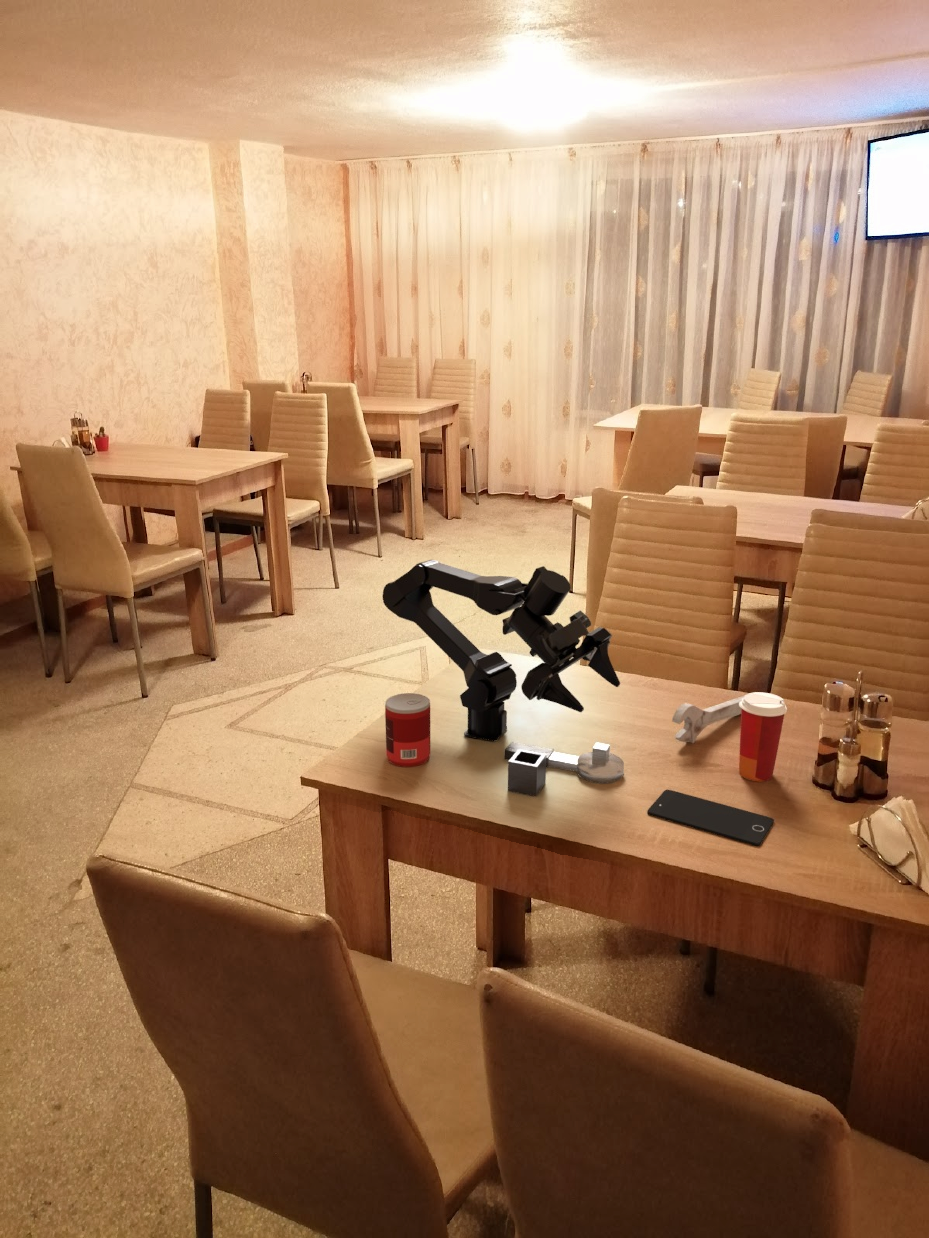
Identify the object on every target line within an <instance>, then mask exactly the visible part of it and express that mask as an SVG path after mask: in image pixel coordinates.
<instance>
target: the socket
mask: <svg viewBox="0 0 929 1238" xmlns="http://www.w3.org/2000/svg"><path fill="white" fill-rule="evenodd" d="M546 755H547V754H543V753H538V752H532V751H527V750H522V749H518V750H517V751H516V753H515V754H514V755H513V756H512V757H511V759H510V760H507V761H508V766H507V767H508V769H507V792H511V793H516V794H520V795H526V796H529V797H530V796H531V797H534V798H535V797H538V795H539V794H540V792H541V791H542V789H543V787H544V786H545V785H546V782H547V780H546V779H547V777H546V775H547V767H546Z"/></svg>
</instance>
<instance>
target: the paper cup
mask: <svg viewBox="0 0 929 1238" xmlns="http://www.w3.org/2000/svg"><path fill="white" fill-rule="evenodd" d="M743 696H744V697H743V698H742V700H741V702H739V706H740V707H741V708H742V709H741V714H740V730H739V731H740V733H739V734H740V735H739V736H740V737H739V756H738V757H739V758H738V760H739V761H738V762H739V763H738V773H739V775H740V777H742V778H744V779H746V780H749V781H752V782H767V781H770V780H772V778H773V775H774V770H775V766H776V765H775V764H776V760H777V755H778V750H779V745H780V739H781V733H782V729H783V723H784V719H785V714H787V711H788V708H787V706H786V703H785V700H784V699H783V698H782V697H781V696H779V695H776V694H774V693H770V692H769V693H768V692H762V691H761V692H760V691H759V692H758V691H757V692H756V691H754V692H749V693H746V694H745V695H743Z"/></svg>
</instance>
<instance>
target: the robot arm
mask: <svg viewBox="0 0 929 1238" xmlns="http://www.w3.org/2000/svg"><path fill="white" fill-rule="evenodd" d="M433 588H436V589H440V590H441V591H442V590H443V591H446V592H449V593H452V594H454V595H458V596H461V597H464V598H466V599H469V600H471V601H473V602H474V604H475V605H476V606H477V607H478V609H481V610H483V611H484V612H486V613H488V614H490V615H492V616H499V615H501V614H505V613H507V612H510V611H512V613H511V614H510V615H509V616H508V617H506V618H503V619H502V634H503V635H504V636H505V635H509V634H511V633H513V632H515V633H516V634H517V635H518V636H519V637H520V639H521V640H522V641H524V643H525V644H527V646H528V647H529V648H530V649H529V650H530V651H529V652H528V653H529V655H531V657H536V656H538V658H539V659H540V660H541V661H542V662H541V663H540V664H538V665H537V666H535V667H533V668H532V669H530V670H528V672H527V674H526V676H525V677H524V680H523V682H522V683H521V686H520V688H521V692H522V694H523V695H524V696H525V697H526V698H527V699H528V700H529V701H532V700H533V699H535V698H536V700H538V701H540V700H546V701H547V702H552V703H554V704H555V703H556V704H559V705H560V706H563V707H566V708H568V709H571V710H573V711H576V712H578V713H582V712H584V708H585V707H584V706H583V705H582V703H581V702H580V701H579V700H578V699H577V698H576V697H575V696H574V694H573V693H572V692H571V691H570V690H569V689H568V688H567V687H566V686H565V685H564V683H563V681H562V680H561V676H560V675H559V673H561V672H563V671H565V670H566V669H568V668H569V667H571V666H572V665H574V664H576V663H577V662H579V661H580V660H584V661H585V662H586V661H587V662H588V664H587V666H588V667H589V668H590V669H592V670H593V672H596V674H598V675H599V676H600V677H601V678H603V679H604V680H605V681H607V682H608V683H609V684H611V685H613V686H614V687H616V688H618V687H620V685H621V682H620V679H619V677H618V675H617V673H616V671H615V668H614V666H613V663H612V662H611V659H610V656H609V651H608V650H609V649H608V648H609V646H610V645H611V641H610V640H611V639H612V637H613V634H612V633H610V631H608V629H606V628H605V627H599V626H598V627H597V628H595V629H593V630H592V631H591V632H589V629H588V628H589V627H591V626H592V621H590V619H589V617H588V616H587V615H586V614H585V613H584V612H583V611H582V610H578V611H577V612H575V613H573V614H572V615H570V616H569V621H570V622H569V623H567V624H565V626H564V625H562V623H561V622H560V623H559V622H558V621H557V622H556V623H552V621H551V620H550V619H549V618H548V617H550V616H553V615H555V613H556V612H557V610H558V609H559V607H560V606H561V604H562V603H563V601H564V600H565V598H566V597H567V595H568V594H569V592H570V590H571V584H570V581H569V580H568V579H567V577H566V576H564V575H563V574H562V575H561V573H558V572H556V571H553V570H550V569H549V570H548V569H547V568H546V567H545V566H539V567H537V568H535V569H534V571H533V573H532V576H531V577H530V579H529V581H528V583H525V582H522V581H521V580H520V579H518V578H516V577H514V576H505V575H494V576H493V575H492V576H491V575H490V576H486V575H481V574H477V573H473V572H470V571H467V570H464V569H461V568H458V567H454V566H451V565H448V564H445V563H441V562H440V561H438V560H435V559H429V560H428V559H427V560H425V561H422V562H418V563H416V564H415V565H414V566H412V568H411V569H410V570H409V571H407V572H406V573H404V574H403V575H401V576H399V577H398V578H397V579H395V580H393V581H391V582H388V583H387V584H385V586H384V587H383V591H382V601H383V605H384V606H385V607H386V609H387V610H389V611H390V612H391V613H392V614H395V615H396V616H397V617H398V618H401V619H404V620H407V621H409V622H412V623H415V624H416V625H417V627H418V628H420V629H421V631H423V632H424V634H426V635H427V636H428V638H430V639H431V641H433V642H434V643H435V645H437V647H438V648H439V649H441V650H442V652H443V653H445V655H447V656H448V658H450V660H451V661H452V662H453V663H455V665H457V667H458V668H460V670H461V671H462V672H463V675H464V680H465V684H466V687H468V688H467V689H465V691H463V692H462V693H461V694H460V695H459V698H460V702H461V705H462V707H464V708H467V729H466V731H464V733H463V736H464V737H468V738H473V739H479V740H485V741H489V742H497V741H498V740H499V739H500V737H501V736H503V734H504V733H506V731H507V729H508V725H507V722H508V721H507V720H508V719H507V718H508V715H507V714H508V711H507V710H506V709H505V701H508V700H510V699H511V696H512V693H514V692H515V691H516V688H517V687H518V686H517V684H518V683H517V673H516V672H515V671H514V669H513V668H512V666H513V664H512V663H510V662H508V661H507V660H505V658H504V657H503V656H502V655H501V653H500V652H498V651H494V652H492V653H489V654H486V653H483V652H482V651H481V650H480V649H479V648H477V646H476V645H475V644H474V643H473V642H472V641H471V640H470V639H468V637H467V636H465V634H464V633H462V632H461V631H460V629H459V628H457V627H456V626H455V625H454V624H453V622H451V621H450V620H449V619H448V618H447V616H445V615H444V614H443V613H442V612H441V611H440V610H439V609H438V608H437V607H436V606H435V605H434V602H433V598H432V594H431V593H432V592H431V590H432V589H433ZM582 637H584V639H582V642H581V640H580V638H582ZM580 642H581V644H580V645H579V643H580ZM577 645H579V647H577ZM576 647H577V648H576Z"/></svg>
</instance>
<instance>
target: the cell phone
mask: <svg viewBox="0 0 929 1238" xmlns="http://www.w3.org/2000/svg"><path fill="white" fill-rule="evenodd" d="M646 814H647V815H648V816H651V817H654V818H658V819H661V820H664V821H668V822H672V823H676V824H677V825H683V826H686V827H689V828H691V829H695V830H699V831H703V832H706V833H708V834H712V835H716V836H719V837H723V838H727V839H730V840H732V841H736V842H740V843H743V844H747V845H750V846H752V847H753V846H754V847H757V848H758V847H760V846H761V845H762V843H763V842H764V840H765V839H766V837H767V835H768V834H769V832H770V830H771V828H772V826H773V825H774V823H775V822H774V820H775V819H774V818H773V817H770V816H767V815H764V814H763V815H762V814H761V813H760V814H759V813H756V812H752V811H748V810H744V809H741V808H737V807H735V806H734V807H733V806H730V805H727V804H723V803H720V802H715V801H711V800H708V799H705V798H702V797H698V796H694V795H691V794H686V793H684V792H679V791H676V790H672V789H665V790H664V791H662V793H661V794H660V795H659V796H658V797H657V798H656V800H655V801H654V802H653V804H651V805H650V807H649V808H648V809H647V813H646Z"/></svg>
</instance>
